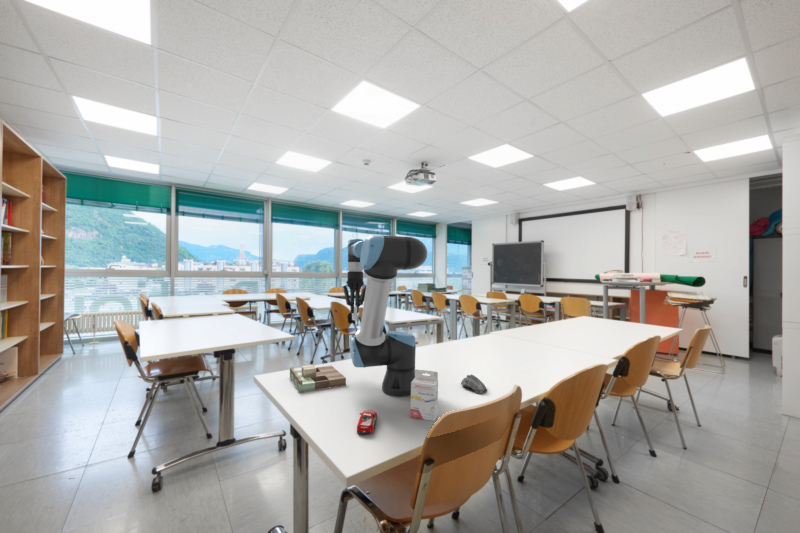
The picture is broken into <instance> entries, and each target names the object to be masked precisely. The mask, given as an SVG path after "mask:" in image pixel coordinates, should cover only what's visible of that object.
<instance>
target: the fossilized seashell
mask: <svg viewBox="0 0 800 533" xmlns="http://www.w3.org/2000/svg"><path fill="white" fill-rule="evenodd" d="M460 385H461V386H463V387H465V388H468V389H472V390H473V391H474V393H475V394H478V395H479V394H480V395H481V394H483V393H484V392H486V391H487V387H486V385H485V384H484V382H483V381H481V379H479V378H478V377H477V376H475V375H473V374H467V375H466V377H464V378H463V379H462V380H461V382H460Z"/></svg>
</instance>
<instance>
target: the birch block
mask: <svg viewBox="0 0 800 533" xmlns="http://www.w3.org/2000/svg"><path fill="white" fill-rule="evenodd" d="M301 369H302V374H301V375H302V376H303V377H304V378H308V377H315V376H316V366H315V365H311V364H310V365H303V366H301Z"/></svg>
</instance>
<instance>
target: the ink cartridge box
mask: <svg viewBox="0 0 800 533" xmlns="http://www.w3.org/2000/svg"><path fill="white" fill-rule="evenodd" d="M425 374H427V375H425ZM438 376H439V375H438V371H432V370H425V369H418V368H417V369H416V368H415V378H414V379H413V381H412V382H411V395H410V404H409V406H410V409H409V413H410V414H409V416H410V418H414V419H420V420H427V421H432V422H436V419H437V417H438V408H439V406H438V405H439V404H438V403H439V379H438V378H439V377H438Z"/></svg>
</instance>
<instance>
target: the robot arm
mask: <svg viewBox="0 0 800 533" xmlns="http://www.w3.org/2000/svg"><path fill="white" fill-rule="evenodd" d="M427 258H428V250H427V247H426V245H425V244H424V242H423V241H421V240H420V239H418V238H415V237H411V236H398V235H397V236H396V235H384V234H383V235H382V234H377V235H376V234H374V235H373V234H372V235H371V234H370V235H368V236H366V238H365V239H363V238H349V239H348V242H347V273H346V274H347V281H346V282H345V284H344V285H343V284H342V285H341V288H342V290H343V294H344V297H345V298H344V299H345V302H346V305H347V306H349V307H350V309H349V311H350V314H351V321H358V314H359V313H360V307H361V306H362V307H363V308H362V313H361V314H362V315H361V321H360V327H359V328H358V329H356V330H357V331H356V332H355V334H354V335H355V336H352V337H350V339H349V349H350V356H351V362H352V364H353V366H354V367H355V368H363V369H364V368H371V367H381V366H382V367H383V366H386V370H385V375H384V378H383V380H382V384H381V390H382V392H383V393H384V394H387V395H389V396H394V397H408V396H410V397H411V382H412V381H413V379H414V378H415V370H416V347H417V345H416V337H415V336H414V335H413V334H412V333H408V332H405V331H399V330H389V331H387V332H386V333H384V326H385V325H384V324H385V321H386V320H385V319H386V313H387V308H388V302H389V297H390V290H391V284H392V281H393V280H394V279H396V277H397V275H398V271H408V270H415V269H417V268H419V267H421V266H422V265H424V263H425V261H426V260H427ZM364 274H365V275H366V276H367V277H366V284H365V283H364ZM349 294H350V295H349Z"/></svg>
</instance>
